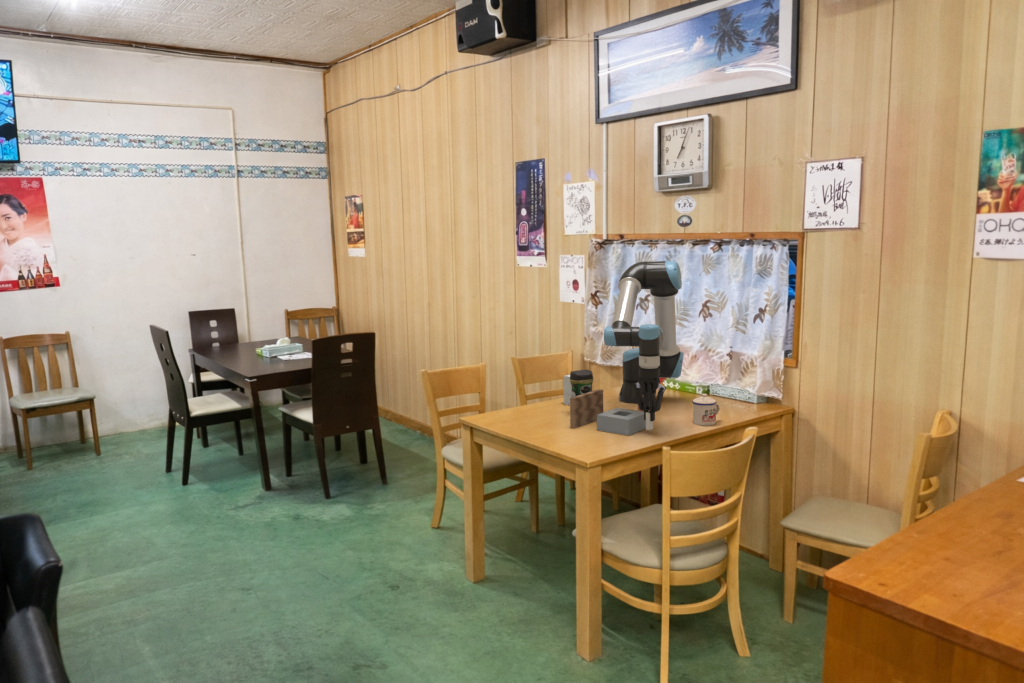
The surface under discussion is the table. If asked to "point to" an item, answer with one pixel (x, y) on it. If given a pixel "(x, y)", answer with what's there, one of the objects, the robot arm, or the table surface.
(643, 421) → the socket block
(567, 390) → the small box
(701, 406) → the teacup with lid
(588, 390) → the coffee jar
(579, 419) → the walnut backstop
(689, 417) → the table surface
